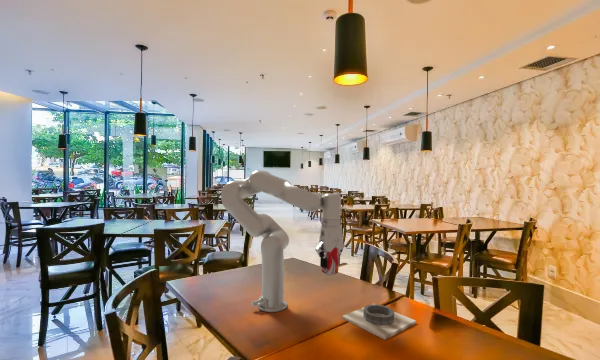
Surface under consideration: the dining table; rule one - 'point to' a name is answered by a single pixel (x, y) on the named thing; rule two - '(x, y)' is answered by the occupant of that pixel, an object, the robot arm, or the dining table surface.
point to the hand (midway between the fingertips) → (330, 265)
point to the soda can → (332, 262)
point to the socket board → (378, 328)
